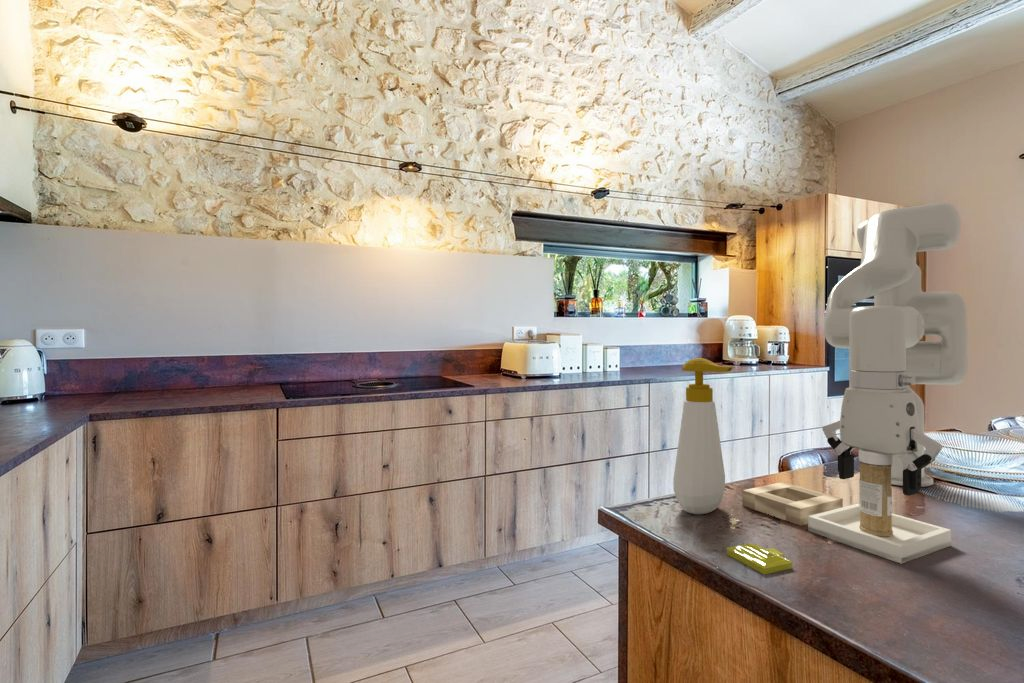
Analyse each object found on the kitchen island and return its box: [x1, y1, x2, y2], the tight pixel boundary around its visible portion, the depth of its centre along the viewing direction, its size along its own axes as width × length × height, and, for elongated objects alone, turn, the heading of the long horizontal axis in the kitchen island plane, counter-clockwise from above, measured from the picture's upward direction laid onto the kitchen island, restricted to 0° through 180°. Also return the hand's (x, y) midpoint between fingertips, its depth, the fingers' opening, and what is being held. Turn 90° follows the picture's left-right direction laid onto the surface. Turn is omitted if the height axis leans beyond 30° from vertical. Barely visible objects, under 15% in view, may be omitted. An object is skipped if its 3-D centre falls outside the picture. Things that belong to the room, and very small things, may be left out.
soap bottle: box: [672, 357, 733, 515], centre depth 96 cm, size 13×10×29 cm
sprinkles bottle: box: [858, 449, 893, 537], centre depth 83 cm, size 5×5×14 cm
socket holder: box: [741, 481, 844, 527], centre depth 96 cm, size 12×12×3 cm
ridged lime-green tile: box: [720, 542, 800, 575], centre depth 75 cm, size 10×9×3 cm
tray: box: [807, 503, 952, 565], centre depth 83 cm, size 14×14×2 cm
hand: (877, 485), depth 83 cm, fingers open, 9 cm apart
